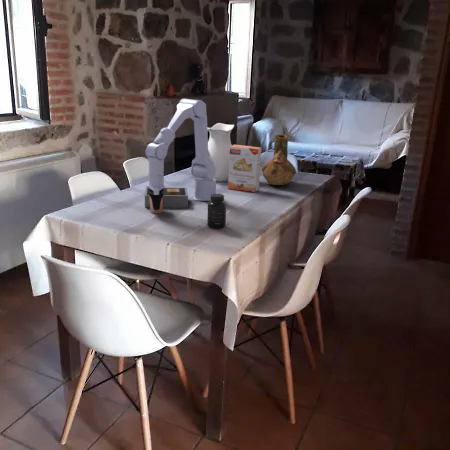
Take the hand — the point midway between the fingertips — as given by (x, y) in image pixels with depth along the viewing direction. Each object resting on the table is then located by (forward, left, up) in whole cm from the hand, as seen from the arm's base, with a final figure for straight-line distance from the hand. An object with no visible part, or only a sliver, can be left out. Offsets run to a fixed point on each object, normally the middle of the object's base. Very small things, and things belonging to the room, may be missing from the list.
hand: (156, 207), depth 191 cm
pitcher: (-29, -54, -2) cm, 62 cm away
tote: (-4, -12, -2) cm, 13 cm away
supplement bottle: (-22, +19, -2) cm, 29 cm away
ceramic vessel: (-60, -44, -2) cm, 75 cm away
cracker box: (-41, -35, -2) cm, 54 cm away
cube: (-7, -12, -1) cm, 14 cm away
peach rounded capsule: (0, 0, -2) cm, 2 cm away
